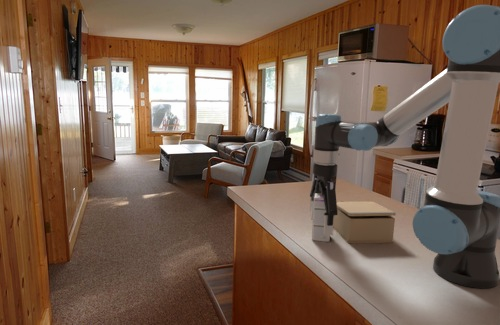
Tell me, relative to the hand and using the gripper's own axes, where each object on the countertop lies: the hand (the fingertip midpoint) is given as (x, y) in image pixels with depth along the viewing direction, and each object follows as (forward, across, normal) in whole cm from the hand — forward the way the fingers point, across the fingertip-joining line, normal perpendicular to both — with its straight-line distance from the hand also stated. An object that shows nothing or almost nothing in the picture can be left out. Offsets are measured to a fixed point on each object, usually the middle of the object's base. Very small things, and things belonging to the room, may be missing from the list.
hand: (321, 226), depth 118 cm
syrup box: (+4, 0, 0) cm, 4 cm away
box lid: (-5, +3, -15) cm, 16 cm away
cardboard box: (+4, +3, -15) cm, 16 cm away
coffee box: (+4, +29, -10) cm, 31 cm away
